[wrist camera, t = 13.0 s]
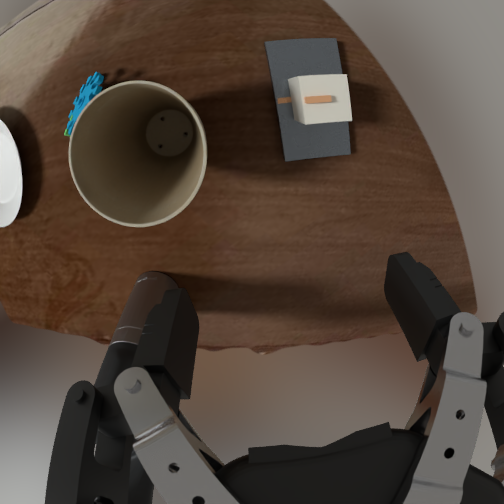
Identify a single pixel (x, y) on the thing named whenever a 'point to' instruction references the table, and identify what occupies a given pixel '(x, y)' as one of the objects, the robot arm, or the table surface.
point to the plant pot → (138, 153)
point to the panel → (292, 132)
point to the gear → (84, 99)
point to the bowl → (9, 177)
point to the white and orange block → (320, 98)
